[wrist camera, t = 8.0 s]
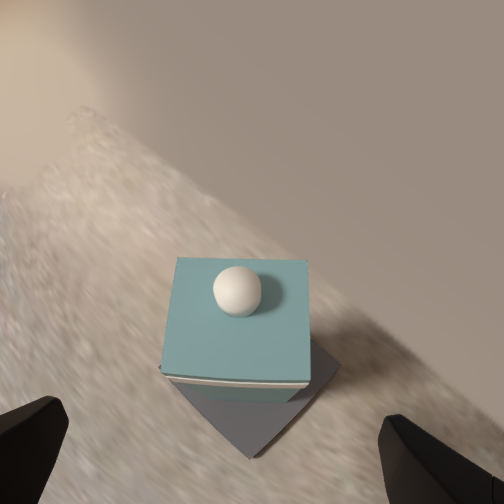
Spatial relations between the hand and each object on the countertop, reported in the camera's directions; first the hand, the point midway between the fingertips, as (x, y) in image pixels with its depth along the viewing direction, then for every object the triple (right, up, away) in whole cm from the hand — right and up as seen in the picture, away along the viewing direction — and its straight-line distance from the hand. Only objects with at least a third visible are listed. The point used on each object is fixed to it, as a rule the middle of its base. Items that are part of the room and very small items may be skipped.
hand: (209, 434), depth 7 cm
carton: (+1, -3, +13) cm, 14 cm away
